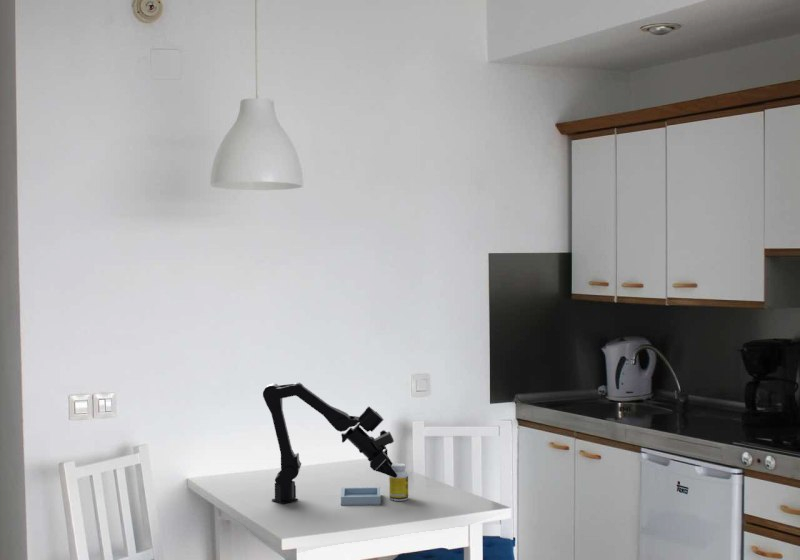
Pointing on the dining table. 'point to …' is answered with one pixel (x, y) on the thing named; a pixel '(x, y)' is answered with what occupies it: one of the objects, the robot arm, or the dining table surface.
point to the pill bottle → (398, 483)
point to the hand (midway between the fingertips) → (396, 473)
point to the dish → (360, 496)
